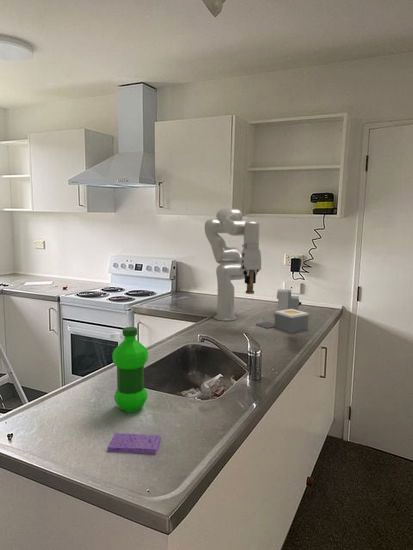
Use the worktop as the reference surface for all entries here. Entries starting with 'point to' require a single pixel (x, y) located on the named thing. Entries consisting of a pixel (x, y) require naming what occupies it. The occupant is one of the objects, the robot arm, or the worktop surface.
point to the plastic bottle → (130, 372)
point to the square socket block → (291, 321)
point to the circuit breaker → (287, 300)
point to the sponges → (134, 443)
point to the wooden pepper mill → (250, 285)
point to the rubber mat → (266, 325)
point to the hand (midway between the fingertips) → (250, 282)
